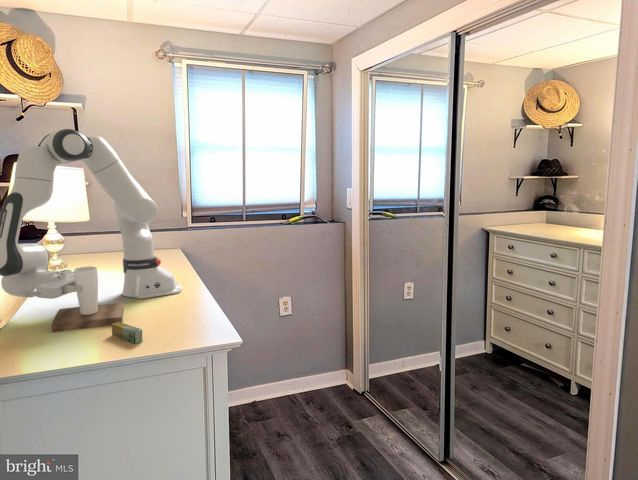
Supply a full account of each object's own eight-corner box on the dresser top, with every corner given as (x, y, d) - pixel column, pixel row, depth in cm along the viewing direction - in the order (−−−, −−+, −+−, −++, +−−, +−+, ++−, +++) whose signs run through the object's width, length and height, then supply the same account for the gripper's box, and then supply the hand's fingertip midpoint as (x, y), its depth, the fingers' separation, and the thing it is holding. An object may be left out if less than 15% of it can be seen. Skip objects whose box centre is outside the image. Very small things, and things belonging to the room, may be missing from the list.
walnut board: (123, 309, 165) (123, 302, 164) (122, 324, 150) (121, 316, 150) (59, 315, 158) (59, 308, 157) (51, 332, 143) (50, 324, 143)
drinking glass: (101, 308, 158) (97, 265, 154) (100, 315, 151) (96, 270, 148) (78, 310, 155) (74, 267, 152) (76, 317, 149) (72, 272, 146)
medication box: (143, 342, 136) (142, 329, 136) (135, 344, 134) (134, 331, 134) (119, 333, 143) (118, 321, 143) (111, 336, 141) (110, 323, 140)
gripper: (25, 283, 143) (65, 284, 141) (70, 268, 163) (106, 269, 161) (27, 303, 144) (67, 304, 142) (72, 286, 164) (108, 287, 162)
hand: (88, 285), depth 151 cm, fingers closed on drinking glass, 6 cm apart
